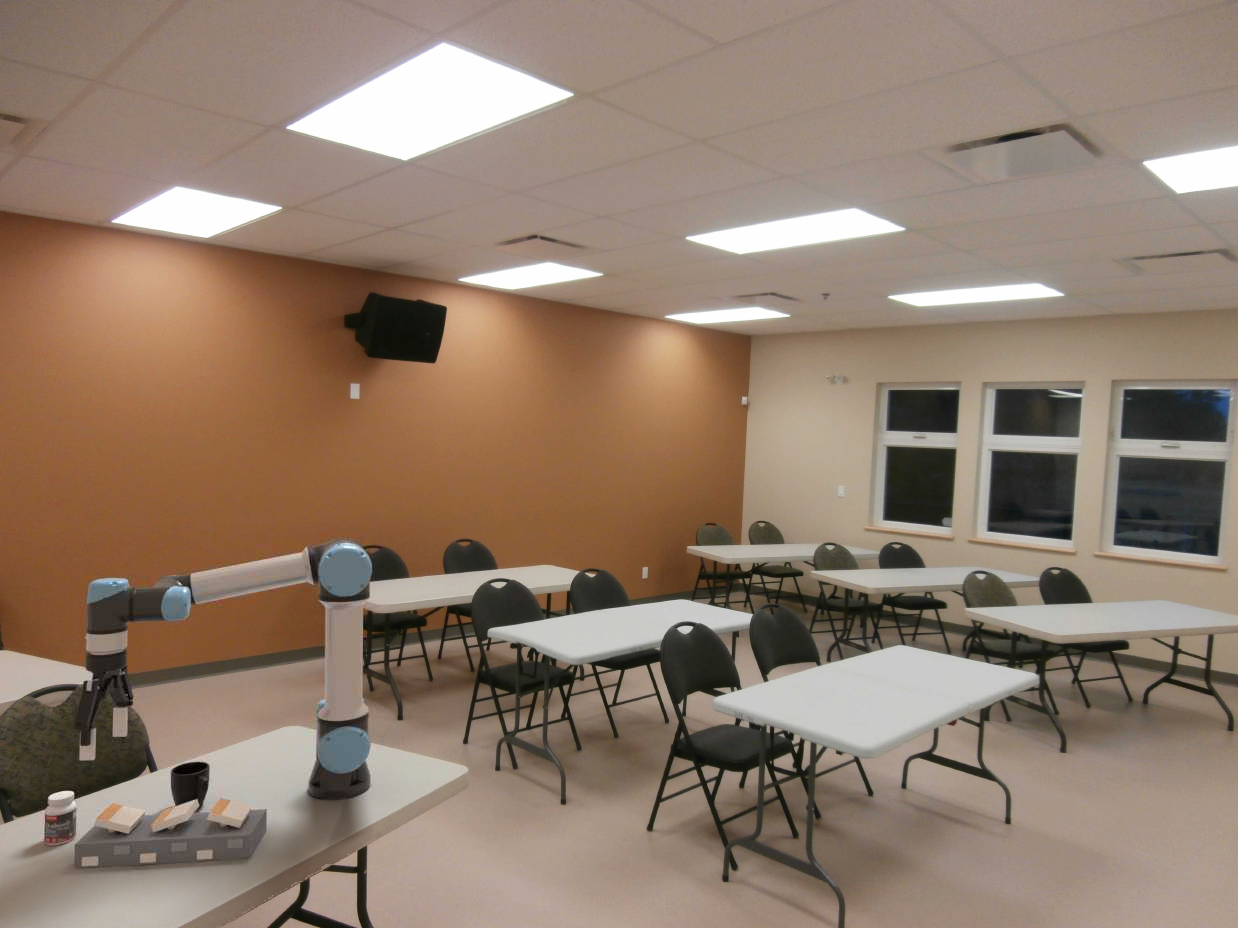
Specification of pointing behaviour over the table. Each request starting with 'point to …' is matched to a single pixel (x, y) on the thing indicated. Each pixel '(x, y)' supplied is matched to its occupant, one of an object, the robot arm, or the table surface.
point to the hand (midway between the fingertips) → (104, 747)
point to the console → (171, 842)
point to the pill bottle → (60, 818)
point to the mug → (190, 782)
